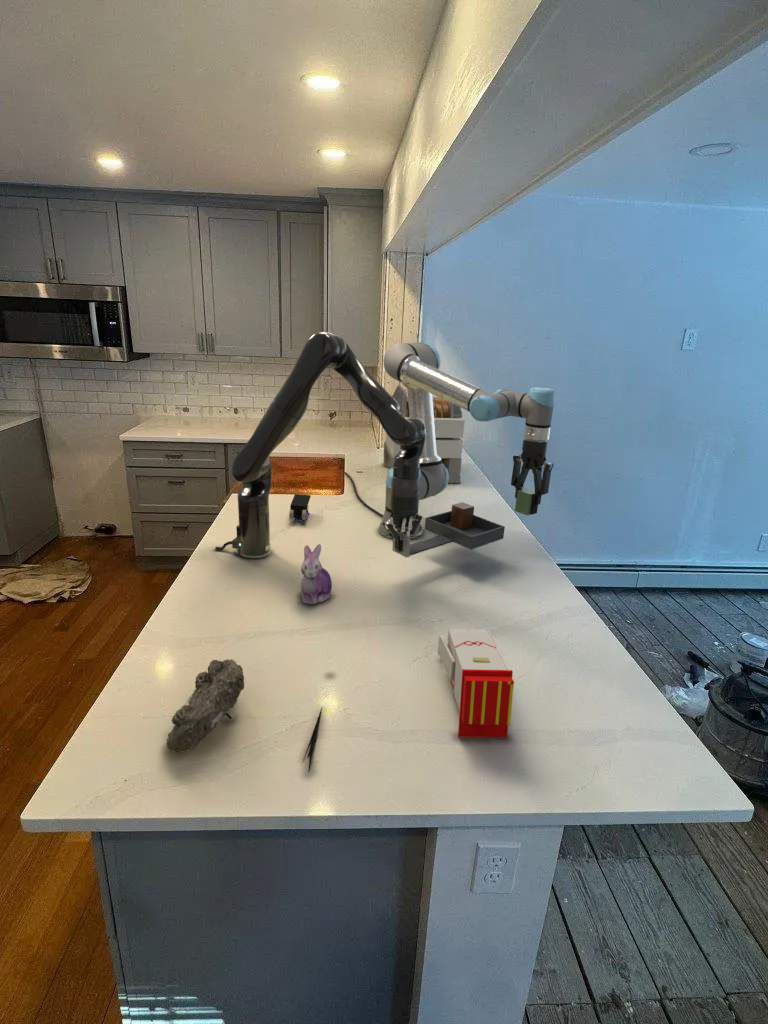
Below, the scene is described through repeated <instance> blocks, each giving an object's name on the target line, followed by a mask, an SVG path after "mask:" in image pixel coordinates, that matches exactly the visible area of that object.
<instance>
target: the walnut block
mask: <svg viewBox="0 0 768 1024" xmlns="http://www.w3.org/2000/svg"><path fill="white" fill-rule="evenodd" d="M450 511H451V521H450V526H453V527H455V528H457V529H460V530H464V529H467V528H471V527H472V523H473V515H475V513H474V512H475V506H474V505H471V504H468V503H466V502H463V501H462V502H458V503H454V504H451V510H450Z"/></svg>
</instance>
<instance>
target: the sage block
mask: <svg viewBox="0 0 768 1024" xmlns="http://www.w3.org/2000/svg"><path fill="white" fill-rule="evenodd" d="M533 494H535V489H533V488H529V487H525V488H524V487H523V488H522V489H521V490H518V491H517V498H515V506H514V512H517V513H518V514H522V515H525V516H531V514H530V510H531V503H532V496H533Z"/></svg>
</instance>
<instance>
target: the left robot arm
mask: <svg viewBox="0 0 768 1024" xmlns="http://www.w3.org/2000/svg"><path fill="white" fill-rule="evenodd" d="M326 369H332V370H333V371H335V372H336V373H338V374H339V376H341V377H342V378H343V379H345V380H346V382H348V384H349V386H350V387H351V388H352V390H353V391H354V392H355V395H356V397H357V399H358V400H359V402H360V403H361V404H362V406H364V408H365V409H366V410H367V411H368V412H369V413H370V414H371V415H372V416H373V417H374V418H375V419H376V420H378V422H379V423H380V425H381V427H382V429H383V431H384V433H385V434H386V433H387V435H388V436H389V438H390V439H391V440H392V441H393V442H394V443H395V444H397V445H398V446H400V450H399V452H398V454H397V455H396V456H395V458H394V464H393V478H392V483H391V500H390V507H391V510H392V512H391V515H390V519H389V520H388V521H387V522H385V521H384V522H383V526H384V528H385V529H386V531H387V533H388V534H389V536H390V537H391V538H394V539H395V549H396V551H398V552H402V549H403V534H405V535H407V536H409V537H410V535H414V533H415V531H416V529H417V527H418V525H419V523H420V522H422V521H423V516H422V515H420V514H419V513H418V514H419V515H418V514H416V509H417V508H418V495H419V468H420V458H421V455H422V451H423V447H424V443H425V438H426V428H425V425H424V423H423V421H422V420H421V419H419V418H417V417H410V418H406V419H405V418H404V417H403V415H402V414H401V413H400V412H399V409H400V406H399V403H398V402H397V401H396V400H395V399H394V398H393V397H392V396H393V395H392V394H390V393H389V391H387V389H386V388H384V387H383V386H382V385H381V384H380V383H379V382H378V380H376V379H375V377H374V376H373V375H372V374H371V373H370V372H369V371H368V370H367V369H366V367H365V366H364V365H363V363H362V362H361V361H360V360H359V358H358V357H357V356H356V354H355V353H354V352H353V350H352V349H351V347H350V346H349V345H348V343H347V342H346V340H345V339H344V338H343V337H342V336H341V335H339V334H336V333H333V332H328V331H327V332H326V331H317V332H315V333H313V334H312V335H310V337H309V338H308V339H307V341H306V342H305V344H304V346H303V348H302V350H301V352H300V354H299V356H298V359H297V361H296V363H295V364H294V367H293V369H292V370H291V372H290V374H289V375H288V376H287V378H286V380H285V381H284V383H283V384H282V386H281V388H279V391H278V393H276V395H275V396H274V398H273V399H272V401H271V403H270V404H269V406H268V408H267V410H266V411H265V413H264V414H263V416H262V418H261V419H260V421H259V423H258V425H257V426H256V428H255V430H254V431H253V434H252V435H251V437H250V438H249V440H248V441H247V442H246V443H245V444H244V446H243V447H242V448H241V449H240V451H238V453H237V454H236V455H235V457H234V458H233V460H232V462H231V474H232V477H233V478H234V480H236V481H237V483H240V484H242V485H241V487H240V490H239V491H238V492H237V511H238V513H237V514H238V524H237V525H236V526H235V527H236V529H235V530H236V537H235V538H233V539H232V540H230V541H227V542H224V543H223V545H222V546H221V547H220V546H215V550H216V551H223V550H225V548H226V547H227V546H229V545H231V547H232V549H236V550H237V555H239V556H241V557H243V558H246V559H251V560H253V559H255V560H256V559H262V558H265V557H268V556H269V555H270V554H271V547H272V546H271V545H272V544H271V534H270V533H271V532H270V531H271V529H270V498H269V497H270V494H271V490H272V463H271V460H270V459H271V458H270V455H272V453H273V451H274V450H275V449H276V448H277V447H279V445H280V444H281V443H282V442H283V441H285V440H286V439H287V437H288V436H289V435H290V434H291V433H292V432H293V431H294V430H295V429H296V427H297V426H298V425H299V423H300V421H302V419H303V417H304V415H305V414H306V412H307V409H308V405H309V402H310V401H309V400H310V396H311V392H312V389H313V387H314V385H315V384H316V381H318V379H319V378H320V377H321V375H322V373H323V372H324V371H325V370H326ZM418 509H419V508H418ZM393 524H394V526H393ZM412 526H413V528H412ZM411 529H412V530H411ZM405 530H406V531H405ZM398 534H399V535H398Z"/></svg>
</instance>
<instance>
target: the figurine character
mask: <svg viewBox="0 0 768 1024" xmlns="http://www.w3.org/2000/svg"><path fill="white" fill-rule="evenodd" d="M311 496H312V495H311V494H299V493H295V494H294V495H293V498H292V500H291V503H290V505H289V507H290V509H289V512H288V513H289V515H288V516H289V517H288V519H289V520H291V521H292V520H293V521H292V522H293V523H292V524H296V522H297V521H298V522H299V521H301V522H300V524H301V525H302V524H304V521H305V520H307V518H308V517H309V515H310V512H309V502H310V500H311Z"/></svg>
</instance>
